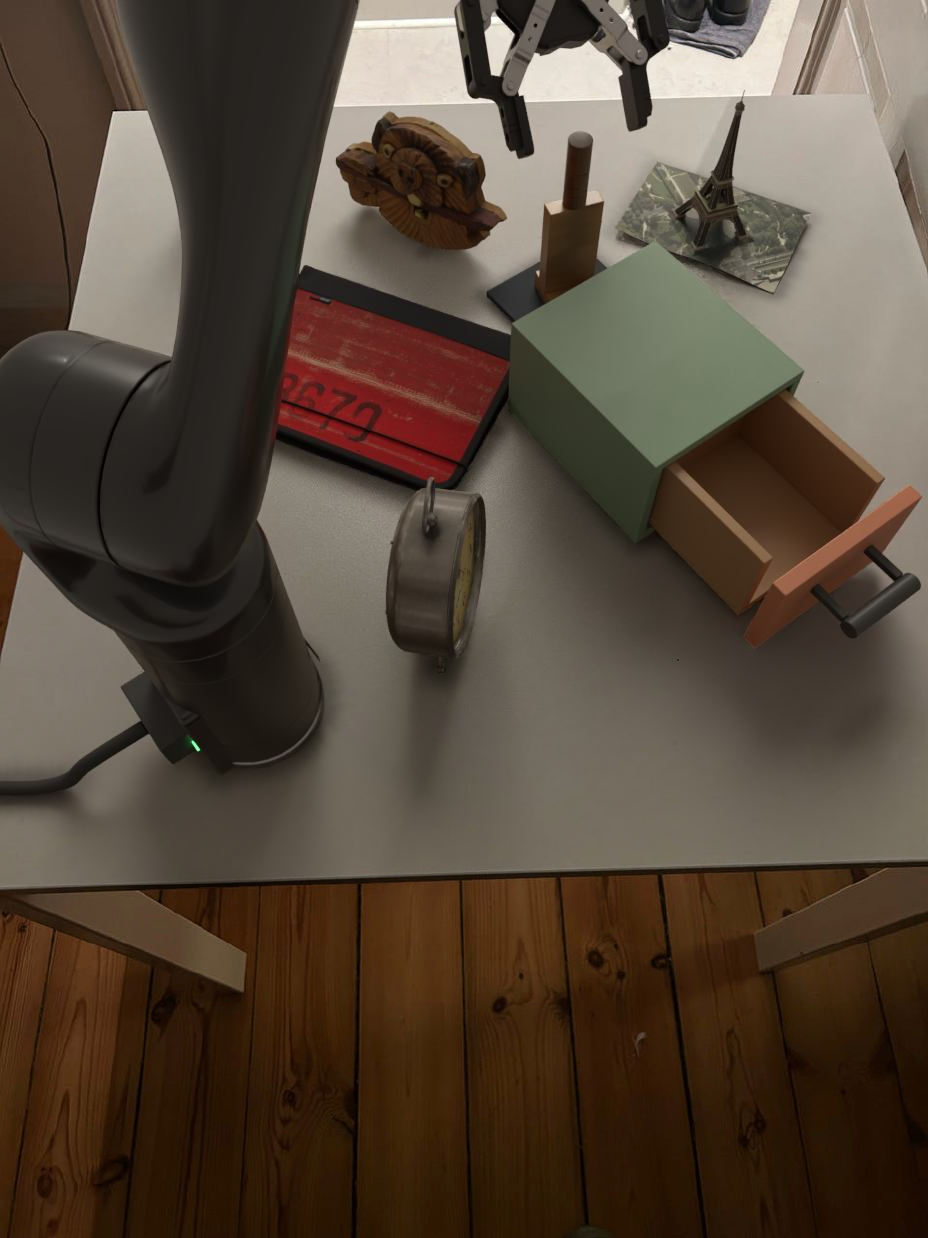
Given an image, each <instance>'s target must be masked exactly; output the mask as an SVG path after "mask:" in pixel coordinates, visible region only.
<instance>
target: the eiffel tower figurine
mask: <svg viewBox="0 0 928 1238" xmlns="http://www.w3.org/2000/svg"><path fill="white" fill-rule="evenodd" d="M745 92H746V89H744V90H743V92H742V96H741V100H739V102H736V104H735V106H734V109H735V110H734V115H733V118H732V121H731V124H730V127H729V129H728V133H727V136H726V139H725V142H724V144H723V147H722V150H721V153H720V156H719V158H718V160H717V163H716V165H715V167H714V169H713V170H711V171H710V176H709V177H707V176H703V175H700V174H697V173H694V172H692V171H688V170H684V169H681V168H678V167H674V166H671V165H669V164H665V163H662V162H659V161H657V162H656V163H655V164H654V166H653V168H652V169H651V171H650V172H649V174H648V176H647V177H646V178H645V180H644V181H643V183H642V185H641V186H640V188H639V189H638V191H637V192H636V194H635V196H634V197H633V199H632V200H631V202H630V203H629V205H628V207H627V208H626V210H625V211H624V213H623V214H622V216H621V217H620V219H619V220H618V222H617V224H616V225H615V227H614V229H616V230H619V231H621V232H622V233H624V234H627V235H629V236H630V237H631V236H632V237H634V238H635V239H637V240H640V241H642V242H645V243H646V244H648V245H649V244H651V243H652V242H654V241H656V242H658V243H659V244H660V245H661V246H662V247H663V248H664V249H666V250H667V251H668V252H670V253H674V254H678V255H680V256H683V257H687V258H688V259H689V260H690V261H692V260H695V261H698V262H700V263H702V264H706V265H708V266H711V267H714V268H716V269H718V270H720V271H722V272H725V273H727V274H730V275H732V276H734V277H735V278H738V279H740V280H743V281H744V282H747V283H749V284H751V285H753V286H755V287H757V288H760V289H762V290H765V291H767V292H769V293H772V294H774V293H775V291H776V289H777V287H778V285H779V283H780V281H781V280H782V277H783V275H784V273H785V271H786V268H787V267H788V264H789V263H790V260H791V258H792V256H793V254H794V251H795V249H796V247H797V245H798V243H799V240H800V238H801V235H802V233H803V231H804V228H805V226H806V224H807V222H808V220H809V218H810V216H811V214H812V212H811V211H807V210H804V209H801V208H799V207H796V206H793V205H790V204H786V203H783V202H780V201H778V200H777V201H776V200H774V199H771V198H768V197H765V196H762V195H759V194H756V193H754V192H750V191H748V190H745V189H743V188H739V187H738V186H737V187H736V186H734V184H733V181H734V180H735V177H734V175H733V172H734V170H733V169H734V162H735V161H734V160H735V154H736V148H737V143H738V137H739V131H740V128H741V127H740V125H741V121H742V115H743V112H745V109H746V108H745V107H746V105H745V104H744V101H743V99H744V95H745Z"/></svg>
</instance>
